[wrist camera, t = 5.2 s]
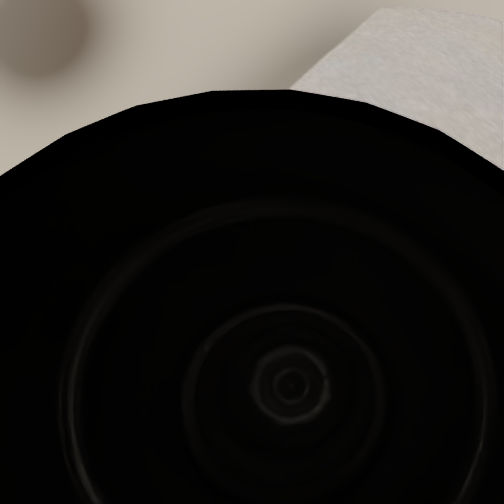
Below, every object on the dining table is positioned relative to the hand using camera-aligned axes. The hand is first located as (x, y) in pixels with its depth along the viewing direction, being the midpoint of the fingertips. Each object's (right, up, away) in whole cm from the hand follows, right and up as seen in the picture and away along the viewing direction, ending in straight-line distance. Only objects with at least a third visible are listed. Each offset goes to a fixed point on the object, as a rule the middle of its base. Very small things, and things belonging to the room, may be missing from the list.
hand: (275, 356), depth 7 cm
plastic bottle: (+2, -5, +8) cm, 10 cm away
